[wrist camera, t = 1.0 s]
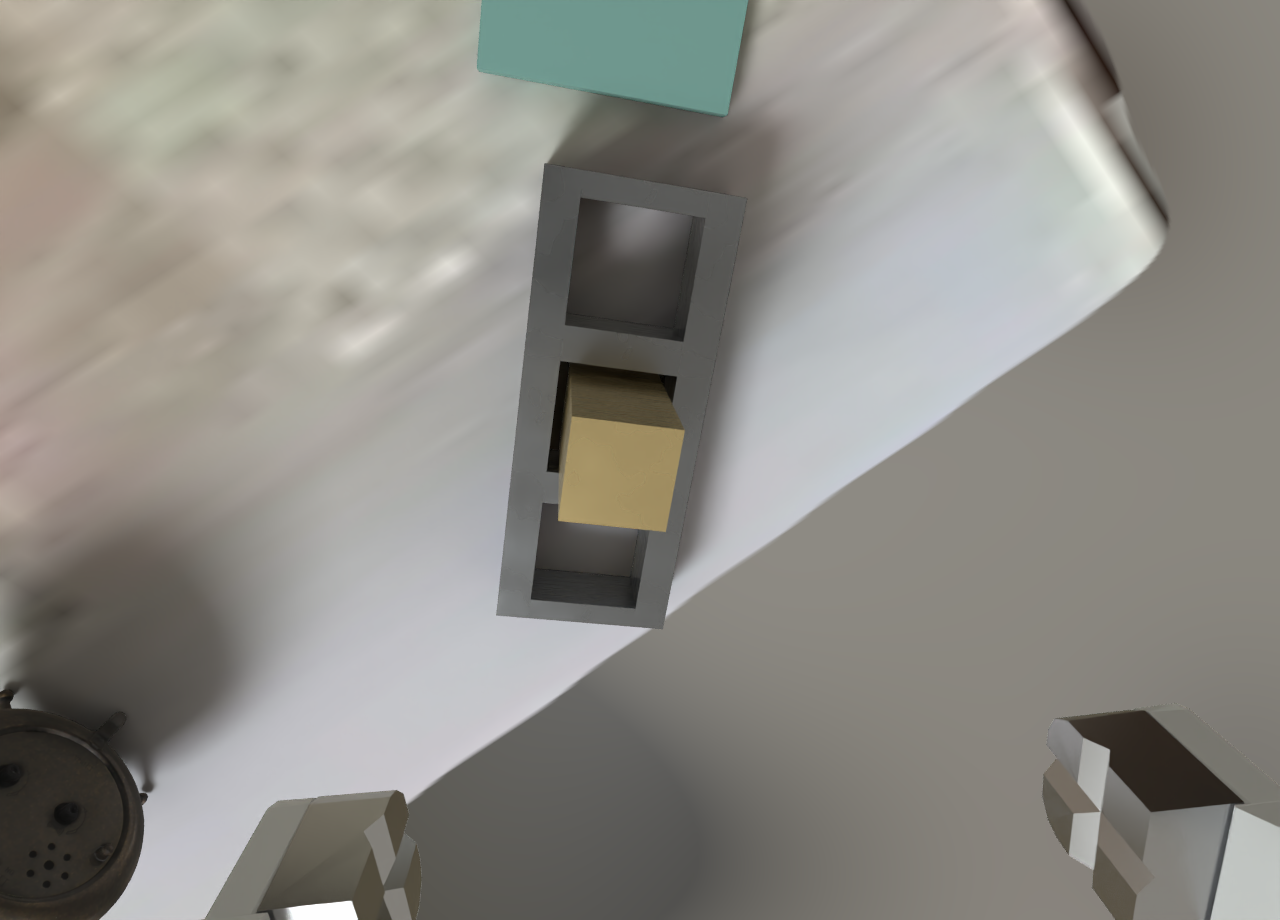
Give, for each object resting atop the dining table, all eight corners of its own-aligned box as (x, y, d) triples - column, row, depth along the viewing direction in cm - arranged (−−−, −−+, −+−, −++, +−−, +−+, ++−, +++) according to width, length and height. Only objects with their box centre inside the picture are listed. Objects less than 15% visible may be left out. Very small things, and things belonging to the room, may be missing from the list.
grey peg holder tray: (501, 582, 38) (496, 615, 35) (546, 164, 31) (544, 163, 28) (655, 596, 39) (662, 628, 36) (731, 196, 32) (747, 197, 29)
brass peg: (559, 439, 35) (557, 520, 27) (569, 357, 34) (571, 416, 26) (642, 449, 36) (665, 531, 27) (655, 369, 34) (685, 430, 26)
